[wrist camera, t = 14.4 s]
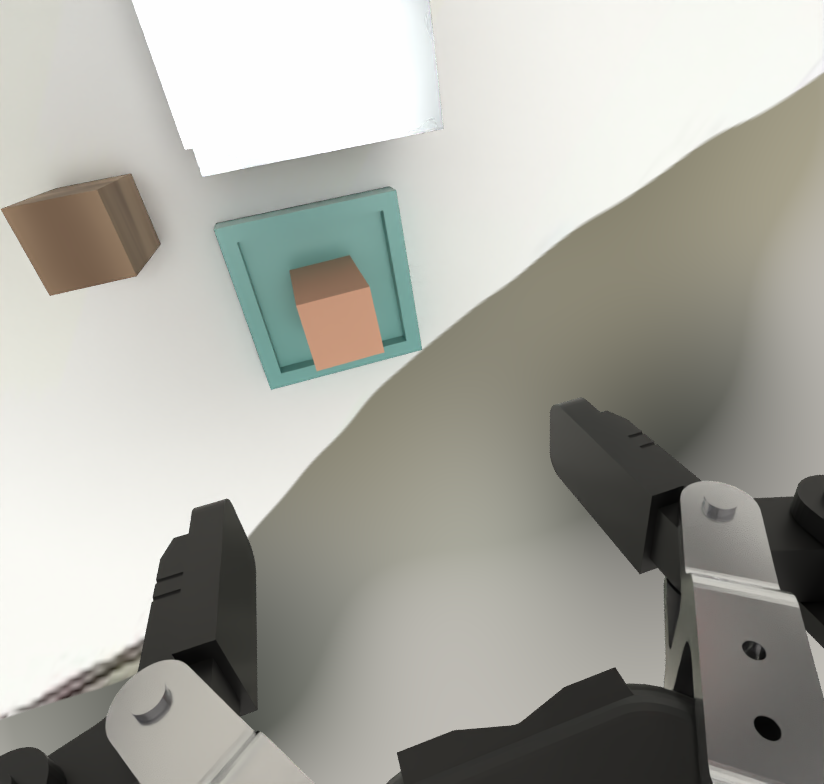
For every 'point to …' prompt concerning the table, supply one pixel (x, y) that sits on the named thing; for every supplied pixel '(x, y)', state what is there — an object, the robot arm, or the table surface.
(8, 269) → the table surface
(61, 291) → the walnut block
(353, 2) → the grey unit
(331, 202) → the teal tray
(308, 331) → the terracotta block
